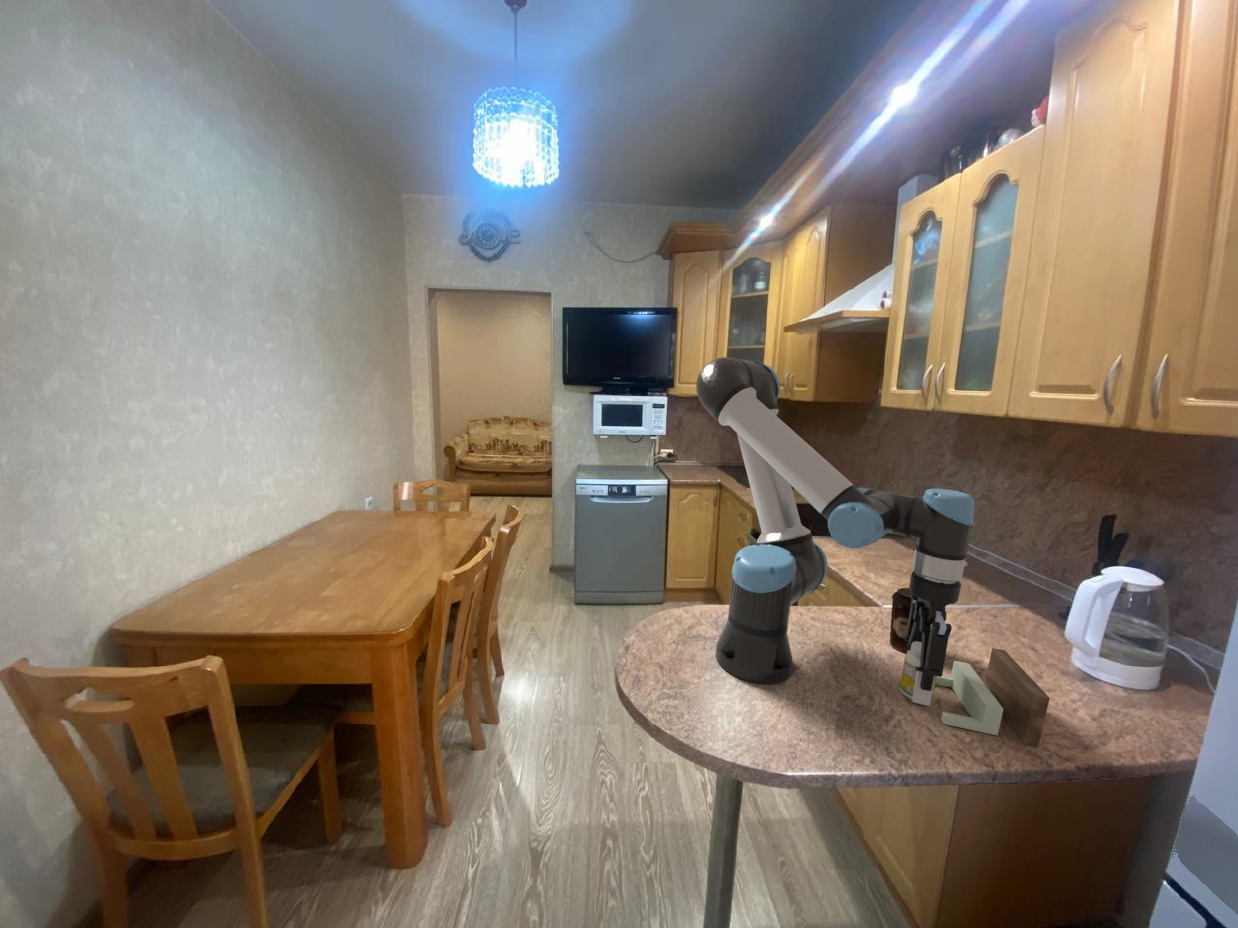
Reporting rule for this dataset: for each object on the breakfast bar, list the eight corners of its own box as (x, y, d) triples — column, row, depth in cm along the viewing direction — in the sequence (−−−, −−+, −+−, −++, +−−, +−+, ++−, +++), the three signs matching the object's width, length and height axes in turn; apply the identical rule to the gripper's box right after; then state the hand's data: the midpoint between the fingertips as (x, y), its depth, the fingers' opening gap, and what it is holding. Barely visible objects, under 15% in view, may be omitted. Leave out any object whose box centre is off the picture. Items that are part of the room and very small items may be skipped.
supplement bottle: (912, 703, 87) (920, 655, 85) (892, 685, 92) (900, 639, 90) (939, 703, 87) (948, 655, 86) (918, 684, 93) (926, 639, 91)
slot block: (943, 723, 83) (948, 697, 82) (918, 677, 96) (922, 654, 95) (997, 735, 80) (1003, 708, 80) (964, 686, 94) (968, 663, 93)
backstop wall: (1023, 743, 79) (1034, 694, 78) (983, 690, 93) (992, 647, 92) (1038, 747, 78) (1049, 697, 77) (995, 692, 93) (1004, 649, 91)
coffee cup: (934, 661, 102) (945, 604, 100) (892, 654, 104) (901, 599, 102) (917, 640, 111) (927, 588, 109) (879, 634, 112) (887, 582, 110)
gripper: (982, 600, 76) (957, 730, 80) (941, 561, 93) (922, 670, 97) (929, 592, 78) (907, 719, 82) (899, 555, 96) (881, 662, 99)
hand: (915, 692), depth 90 cm, fingers closed on supplement bottle, 5 cm apart
